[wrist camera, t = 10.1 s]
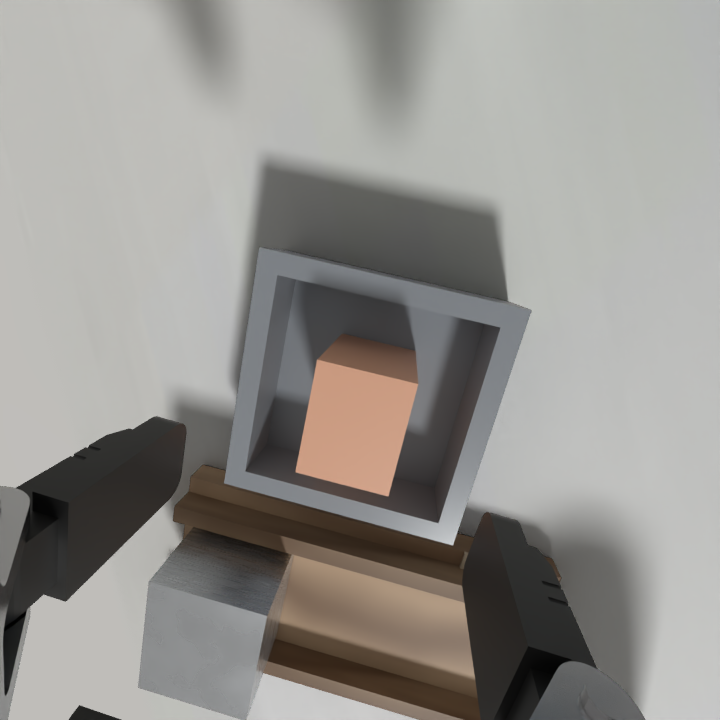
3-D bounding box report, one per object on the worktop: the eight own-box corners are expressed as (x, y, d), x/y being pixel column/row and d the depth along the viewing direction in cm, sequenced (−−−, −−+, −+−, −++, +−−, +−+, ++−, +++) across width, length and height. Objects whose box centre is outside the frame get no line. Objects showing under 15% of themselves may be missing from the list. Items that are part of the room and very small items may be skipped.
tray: (286, 250, 21) (259, 247, 17) (508, 301, 21) (531, 310, 17) (253, 448, 24) (224, 483, 21) (445, 499, 24) (453, 545, 20)
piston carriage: (200, 518, 24) (148, 581, 19) (295, 544, 24) (267, 616, 19) (188, 608, 26) (138, 687, 21) (276, 634, 26) (245, 721, 21)
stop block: (342, 333, 21) (317, 359, 15) (415, 350, 21) (418, 384, 15) (324, 418, 22) (295, 472, 17) (393, 435, 22) (388, 496, 16)
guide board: (203, 464, 25) (176, 491, 22) (552, 558, 24) (571, 599, 21) (183, 613, 28) (157, 653, 25) (491, 704, 27) (501, 757, 24)
